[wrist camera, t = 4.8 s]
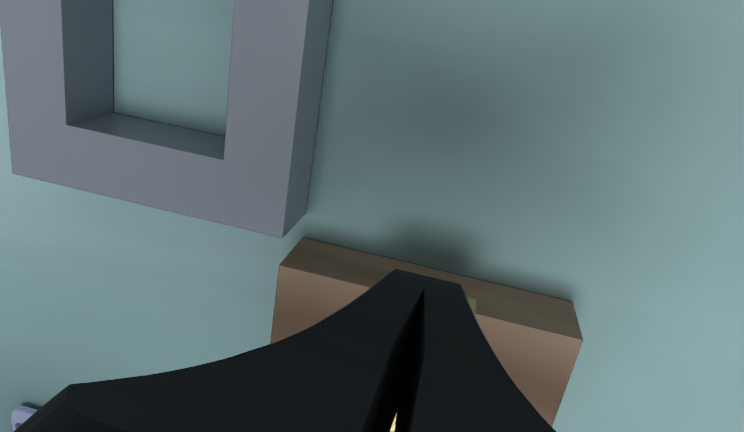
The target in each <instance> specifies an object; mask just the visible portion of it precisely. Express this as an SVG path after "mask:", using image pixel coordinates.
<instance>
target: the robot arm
mask: <svg viewBox="0 0 744 432" xmlns="http://www.w3.org/2000/svg"><path fill="white" fill-rule="evenodd" d="M396 413H397V415H396ZM395 416H396V423H395V432H556V431H555V430H554V429H553V428H552V427H551V426H550V425H549V424H548V423H547V422H546V420H545V419H544V418H543V417H542V416H541V415H540V414H539V413H538V412H537V410H536V409H535V408H534V407H533V405H532V404H531V403H530V402H529V401H528V399H527V398H526V397H525V396H524V395H523V393H522V392H521V391H520V390H519V389H518V387H517V386H516V385H515V383H514V382H513V381H512V379H511V378H510V377H509V375H508V374H507V372H506V371H505V369H504V368H503V366H502V365H501V363H500V362H499V360H498V358H497V357H496V355H495V353H494V352H493V350H492V348H491V346H490V345H489V343H488V341H487V339H486V337H485V335H484V334H483V332H482V330H481V328H480V326H479V324H478V322H477V320H476V318H475V316H474V314H473V311H472V309H471V307H470V305H469V302H468V300H467V297H466V294H465V292H464V290H463V288H462V286H461V285H460V284H458V283H454V282H450V281H446V280H442V279H437V278H433V277H429V276H425V275H420V274H416V273H412V272H408V271H404V270H399V269H395V270H393V271H391V272H389V273H388V274H387V275H386V276H385V277H383V278H382V279H381V280H380V281H379V282H377V283H376V284H375V285H374V286H372V287H371V288H370V289H368V290H367V291H366V292H365V293H363V294H362V295H360V296H359V297H357V298H356V299H355V300H353V301H352V302H350V303H349V304H347V305H346V306H345V307H343V308H341V309H340V310H338V311H337V312H335V313H333V314H331V315H330V316H328V317H326V318H325V319H323V320H321V321H320V322H318V323H316V324H315V325H313V326H311V327H309V328H307V329H305V330H303V331H301V332H299V333H296V334H294V335H292V336H289V337H287V338H285V339H282V340H280V341H277V342H275V343H272V344H270V345H267V346H263V347H260V348H257V349H254V350H251V351H248V352H245V353H242V354H239V355H236V356H233V357H229V358H226V359H223V360H219V361H215V362H211V363H207V364H202V365H198V366H194V367H189V368H184V369H179V370H174V371H169V372H164V373H158V374H152V375H146V376H138V377H130V378H122V379H114V380H106V381H98V382H90V383H80V384H70V385H69V386H67V387H66V388H65V389H63V390H62V391H61V392H60V393H58V394H57V395H56V396H55V397H53V398H52V399H51V400H50V401H48V402H47V403H46V404H45V405H44V406H42V407H41V408H40V409H39V410H36V409H33V408H29V407H26V406H18V407H17V408H15V409H14V410H13V411H12V412H11V423H12V432H390V430H391V427H392V424H393V421H394V418H395Z"/></svg>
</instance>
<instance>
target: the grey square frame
mask: <svg viewBox="0 0 744 432" xmlns="http://www.w3.org/2000/svg"><path fill="white" fill-rule="evenodd" d="M332 4H333V0H234V14H233V29H232V44H231V59H230V74H229V89H228V104H227V120H226V135H225V137H223V136H219V135H214V134H210V133H205V132H200V131H196V130H191V129H187V128H182V127H177V126H173V125H168V124H164V123H159V122H155V121H150V120H145V119H141V118H136V117H132V116H127V115H123V114H118V113H113V16H112V0H0V25H1V38H2V50H3V63H4V75H5V87H6V100H7V112H8V125H9V137H10V150H11V162H12V174H17V175H21V176H25V177H29V178H33V179H37V180H41V181H46V182H50V183H54V184H58V185H62V186H66V187H71V188H75V189H79V190H83V191H87V192H91V193H96V194H100V195H104V196H108V197H112V198H116V199H121V200H125V201H129V202H133V203H137V204H141V205H146V206H150V207H154V208H158V209H162V210H166V211H171V212H175V213H179V214H183V215H187V216H191V217H196V218H200V219H204V220H208V221H212V222H216V223H221V224H225V225H229V226H233V227H237V228H241V229H246V230H250V231H254V232H258V233H262V234H266V235H271V236H275V237H279V238H283V237H284V236H285V235H286V234H287V233H288V232H289V230H290V229H291V228H292V227H293V226H294V225H295V224H296V223H297V222H298V221H299V220H300V219H301V218H302V217H303V216H304V214H305V213H306V207H307V199H308V192H309V184H310V176H311V168H312V160H313V153H314V145H315V137H316V129H317V121H318V114H319V106H320V98H321V90H322V82H323V74H324V67H325V59H326V51H327V43H328V35H329V28H330V20H331V12H332Z"/></svg>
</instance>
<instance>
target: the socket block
mask: <svg viewBox="0 0 744 432" xmlns="http://www.w3.org/2000/svg"><path fill="white" fill-rule="evenodd" d="M395 269H399V270H404V271H408V272H412V273H416V274H420V275H425V276H429V277H433V278H437V279H442V280H446V281H450V282H454V283H458V284H460V285H461V286H462V288H463V290H464V292H465V294H466V297H467V298H471V299H475V300H476V309H475V318H476V320H477V322H478V324H479V326H480V328H481V330H482V332H483V334H484V335H485V337H486V339H487V341H488V343H489V345H490V346H491V348H492V350H493V352H494V353H495V355H496V357H497V358H498V360H499V362H500V363H501V365H502V366H503V368H504V369H505V371H506V372H507V374H508V375H509V377H510V378H511V379H512V381H513V382H514V383H515V385H516V386H517V387H518V389H519V390H520V391H521V392H522V393H523V395H524V396H525V397H526V398H527V399H528V401H529V402H530V403H531V404H532V405H533V407H534V408H535V409H536V410H537V412H538V413H539V414H540V415H541V416H542V417H543V418H544V419H545V420H546V422H547V423H548V424H549V425H550V426H551V427H552V425H553V422H554V420H555V417H556V414H557V411H558V408H559V406H560V403H561V400H562V397H563V395H564V392H565V389H566V386H567V383H568V381H569V378H570V375H571V372H572V370H573V367H574V364H575V361H576V358H577V356H578V353H579V350H580V347H581V345H582V342H583V338H582V335H581V331H580V327H579V324H578V320H577V317H576V313H575V309H574V306H573V302H571V301H566V300H562V299H558V298H554V297H550V296H545V295H541V294H537V293H533V292H529V291H524V290H520V289H516V288H512V287H508V286H504V285H499V284H495V283H491V282H487V281H483V280H478V279H474V278H470V277H466V276H462V275H457V274H453V273H449V272H445V271H441V270H437V269H432V268H428V267H424V266H420V265H416V264H411V263H407V262H403V261H399V260H395V259H390V258H386V257H382V256H378V255H374V254H369V253H365V252H361V251H357V250H353V249H349V248H344V247H340V246H336V245H332V244H328V243H323V242H319V241H315V240H311V239H307V238H302V239H301V240H300V241H299V242H298V244H297V245H296V246H295V247H294V248H293V249H292V251H291V252H290V253H289V254H288V255H287V257H286V258H285V259H284V260H283V261H282V262H281V264H280V265H279V271H278V279H277V288H276V297H275V306H274V315H273V324H272V333H271V341H270V344H272V343H275V342H277V341H280V340H282V339H285V338H287V337H289V336H292V335H294V334H296V333H299V332H301V331H303V330H305V329H307V328H309V327H311V326H313V325H315V324H316V323H318V322H320V321H321V320H323V319H325V318H326V317H328V316H330V315H331V314H333V313H335V312H337V311H338V310H340V309H341V308H343V307H345V306H346V305H347V304H349V303H350V302H352V301H353V300H355V299H356V298H357V297H359V296H360V295H362V294H363V293H365V292H366V291H367V290H368V289H370V288H371V287H372V286H374V285H375V284H376V283H377V282H379V281H380V280H381V279H382V277H385V276H386V275H387V274H388V273H389V272H391V271H393V270H395Z"/></svg>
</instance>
